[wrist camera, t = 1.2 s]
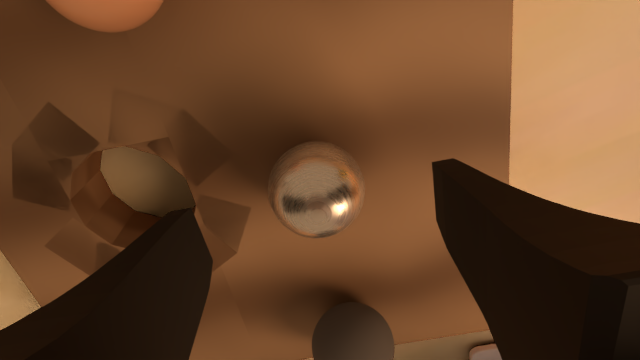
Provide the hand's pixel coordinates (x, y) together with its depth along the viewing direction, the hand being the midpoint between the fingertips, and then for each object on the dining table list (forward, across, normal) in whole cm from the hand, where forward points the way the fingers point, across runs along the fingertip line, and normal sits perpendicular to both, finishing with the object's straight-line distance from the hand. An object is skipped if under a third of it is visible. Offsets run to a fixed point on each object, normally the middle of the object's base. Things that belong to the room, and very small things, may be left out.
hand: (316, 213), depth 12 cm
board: (+6, +3, 0) cm, 6 cm away
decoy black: (+1, 0, +8) cm, 8 cm away
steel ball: (+2, 0, 0) cm, 2 cm away
